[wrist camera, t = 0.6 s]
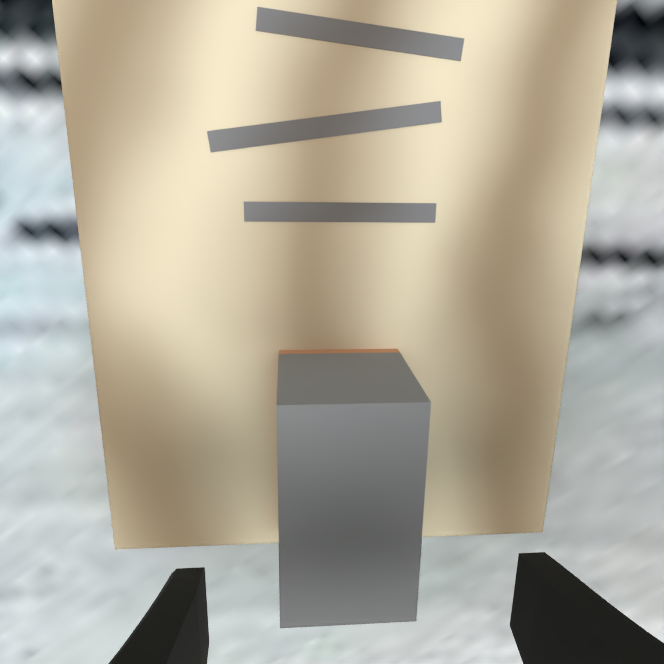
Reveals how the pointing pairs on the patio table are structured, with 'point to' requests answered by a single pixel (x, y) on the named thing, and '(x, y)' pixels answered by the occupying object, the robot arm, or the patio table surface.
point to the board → (328, 236)
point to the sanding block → (349, 486)
